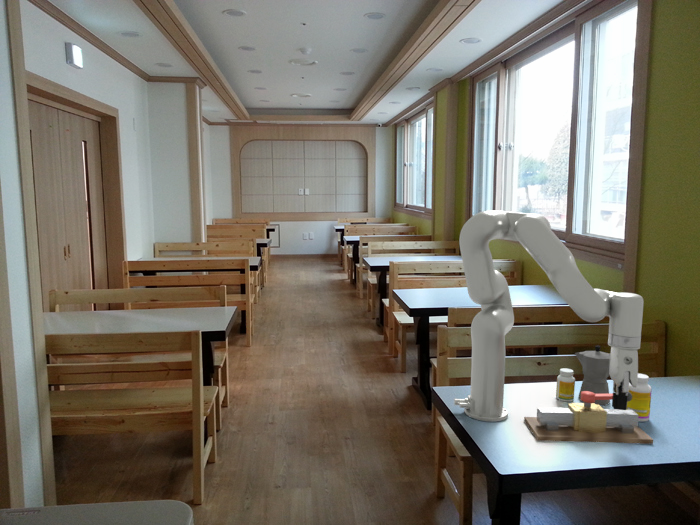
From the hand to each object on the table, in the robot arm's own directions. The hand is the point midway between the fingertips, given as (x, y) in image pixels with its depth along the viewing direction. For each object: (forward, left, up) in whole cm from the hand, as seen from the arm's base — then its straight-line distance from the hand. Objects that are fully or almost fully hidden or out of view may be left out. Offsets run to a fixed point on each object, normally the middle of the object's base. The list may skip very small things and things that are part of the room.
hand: (619, 408), depth 145 cm
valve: (-6, +6, -9) cm, 12 cm away
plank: (-6, +6, -9) cm, 12 cm away
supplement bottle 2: (+13, +17, -9) cm, 23 cm away
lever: (-1, +6, -2) cm, 6 cm away
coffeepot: (+7, +30, -9) cm, 32 cm away
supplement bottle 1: (-3, +31, -9) cm, 32 cm away
